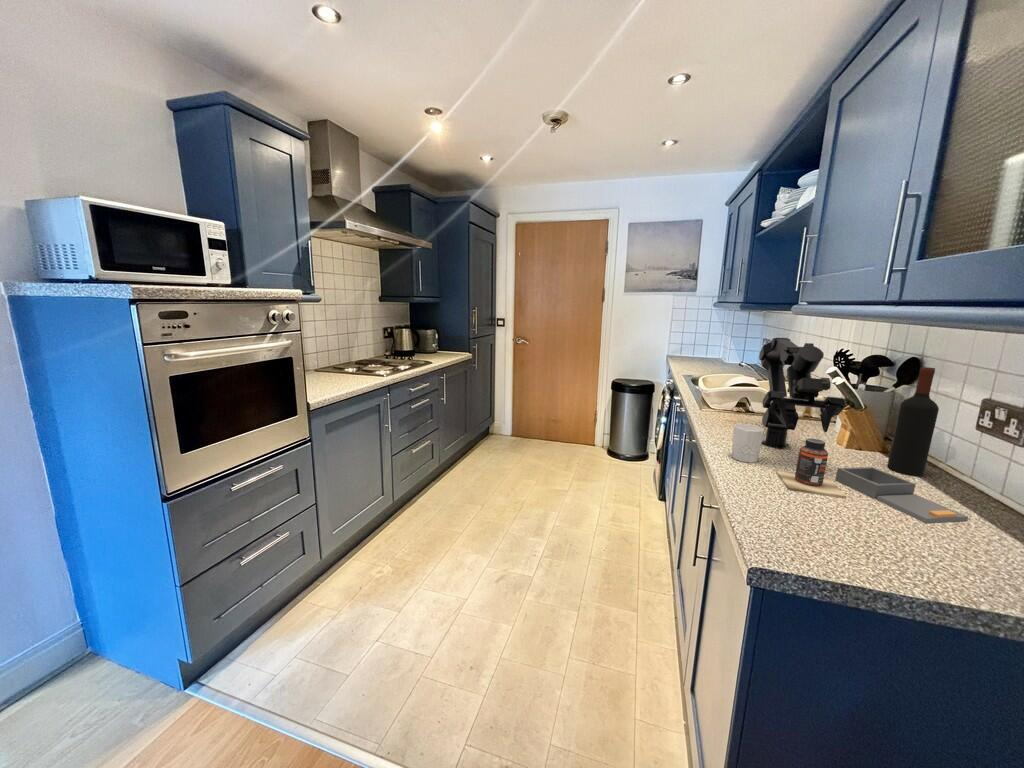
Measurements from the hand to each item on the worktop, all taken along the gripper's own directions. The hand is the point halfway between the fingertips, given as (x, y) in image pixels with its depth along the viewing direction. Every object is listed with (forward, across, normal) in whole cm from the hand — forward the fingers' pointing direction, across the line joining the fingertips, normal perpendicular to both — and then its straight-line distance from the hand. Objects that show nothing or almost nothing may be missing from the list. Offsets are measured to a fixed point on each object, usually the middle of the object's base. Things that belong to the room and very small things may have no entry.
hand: (806, 429), depth 110 cm
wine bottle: (0, +30, +18) cm, 35 cm away
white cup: (+5, -12, +14) cm, 19 cm away
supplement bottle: (+14, 0, +3) cm, 15 cm away
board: (+15, 0, +3) cm, 15 cm away
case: (+16, +17, +1) cm, 24 cm away
